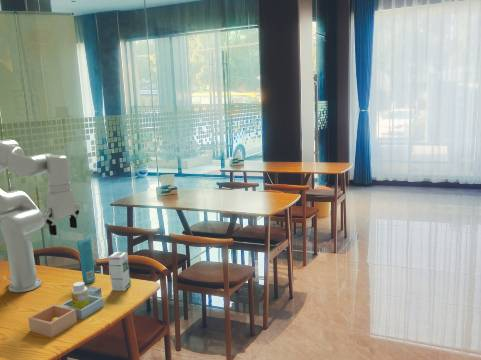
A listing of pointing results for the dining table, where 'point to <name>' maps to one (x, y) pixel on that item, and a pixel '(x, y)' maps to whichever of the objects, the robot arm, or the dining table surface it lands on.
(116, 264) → the syrup box
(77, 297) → the supplement bottle
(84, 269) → the tube
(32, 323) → the salmon pink open box
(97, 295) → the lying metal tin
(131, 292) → the dining table surface
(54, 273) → the dining table surface
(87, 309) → the light blue open box
